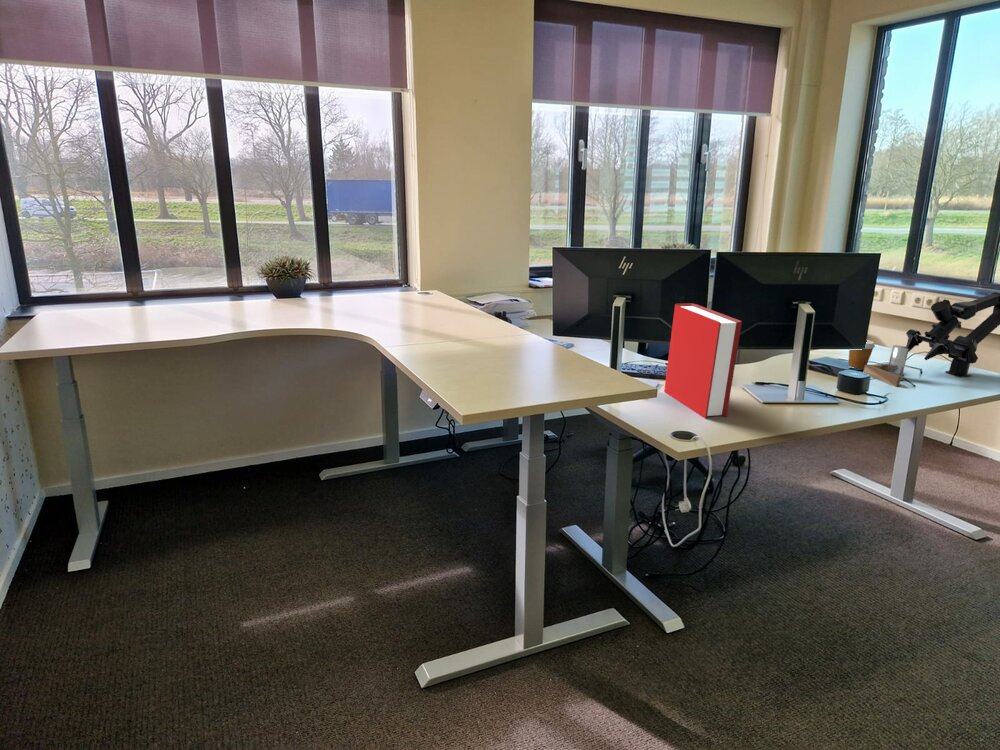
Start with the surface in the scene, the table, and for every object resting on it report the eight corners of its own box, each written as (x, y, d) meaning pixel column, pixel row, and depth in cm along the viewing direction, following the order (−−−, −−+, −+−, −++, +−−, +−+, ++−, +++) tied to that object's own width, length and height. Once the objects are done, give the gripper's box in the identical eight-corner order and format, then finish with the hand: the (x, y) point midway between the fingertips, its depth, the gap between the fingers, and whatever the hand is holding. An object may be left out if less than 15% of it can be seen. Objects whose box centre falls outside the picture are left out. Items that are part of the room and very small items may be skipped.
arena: (892, 372, 260) (894, 363, 259) (926, 384, 245) (929, 375, 244) (863, 373, 256) (865, 364, 255) (895, 386, 242) (898, 376, 240)
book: (726, 417, 204) (741, 321, 194) (705, 418, 202) (719, 321, 192) (681, 389, 229) (693, 303, 219) (662, 390, 227) (673, 303, 217)
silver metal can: (893, 375, 256) (900, 344, 252) (906, 380, 250) (914, 349, 246) (880, 376, 254) (887, 345, 250) (893, 381, 248) (901, 349, 244)
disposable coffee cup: (853, 372, 258) (859, 344, 254) (838, 365, 267) (844, 338, 263) (874, 372, 259) (881, 344, 255) (859, 365, 268) (865, 338, 264)
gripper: (972, 347, 245) (943, 376, 246) (930, 335, 262) (903, 362, 263) (962, 329, 241) (932, 357, 241) (920, 318, 258) (892, 344, 258)
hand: (914, 356), depth 251 cm, fingers open, 9 cm apart
